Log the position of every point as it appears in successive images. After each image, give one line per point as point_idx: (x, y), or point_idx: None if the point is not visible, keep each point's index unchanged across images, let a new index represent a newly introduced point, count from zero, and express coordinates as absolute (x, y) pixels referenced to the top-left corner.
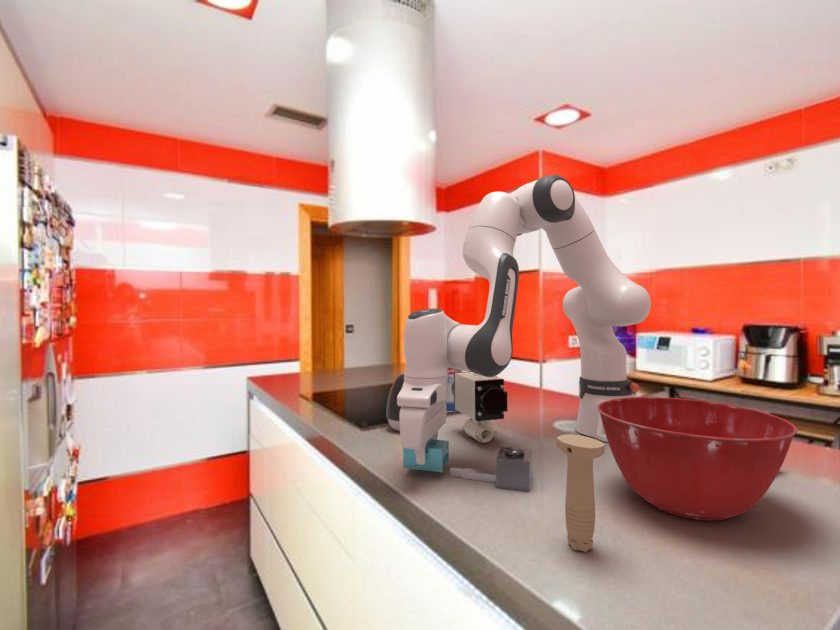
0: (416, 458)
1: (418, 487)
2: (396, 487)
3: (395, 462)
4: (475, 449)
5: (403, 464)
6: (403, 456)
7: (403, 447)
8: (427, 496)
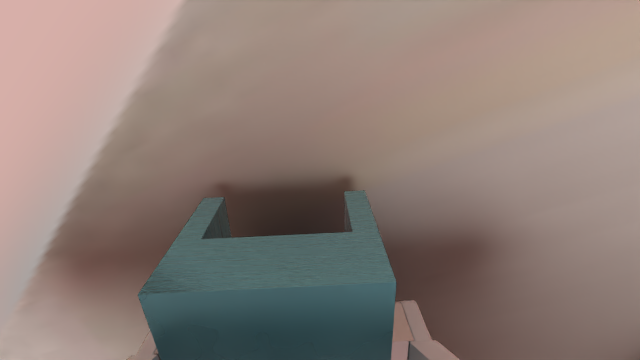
0: (148, 336)
1: (130, 280)
2: (72, 203)
3: (384, 57)
4: (624, 351)
5: (196, 209)
6: (179, 237)
7: (146, 285)
8: (79, 329)
